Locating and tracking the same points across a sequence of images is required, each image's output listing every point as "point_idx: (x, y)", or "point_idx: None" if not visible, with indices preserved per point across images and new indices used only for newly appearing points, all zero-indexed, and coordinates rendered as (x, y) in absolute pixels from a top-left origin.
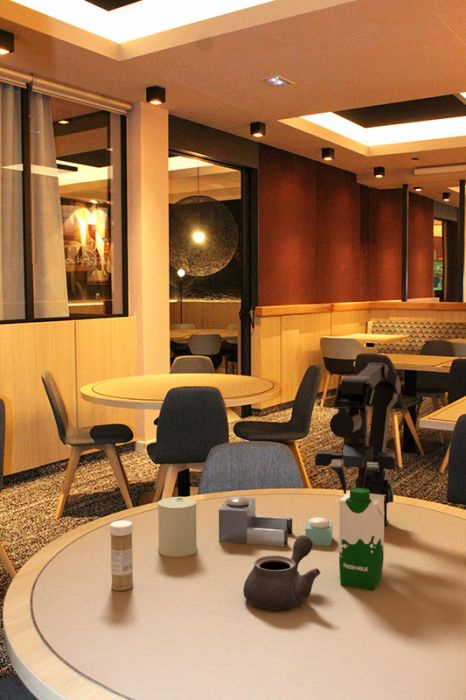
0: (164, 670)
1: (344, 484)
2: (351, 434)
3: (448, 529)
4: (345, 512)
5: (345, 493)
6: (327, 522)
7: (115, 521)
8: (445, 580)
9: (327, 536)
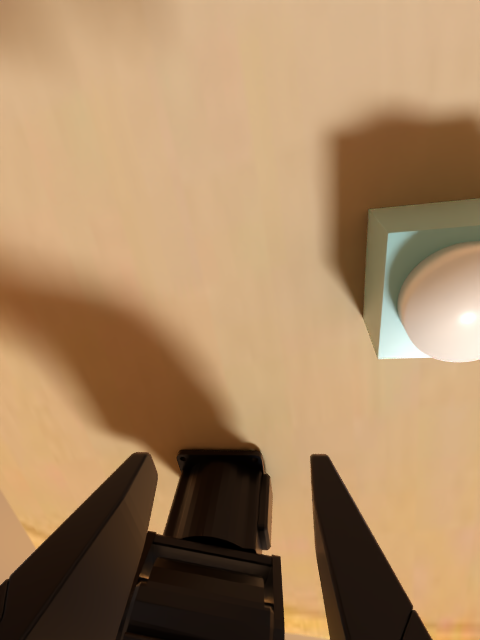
0: None
1: (339, 557)
2: None
3: (10, 458)
4: None
5: (316, 458)
6: (416, 292)
7: None
8: None
9: (396, 220)
